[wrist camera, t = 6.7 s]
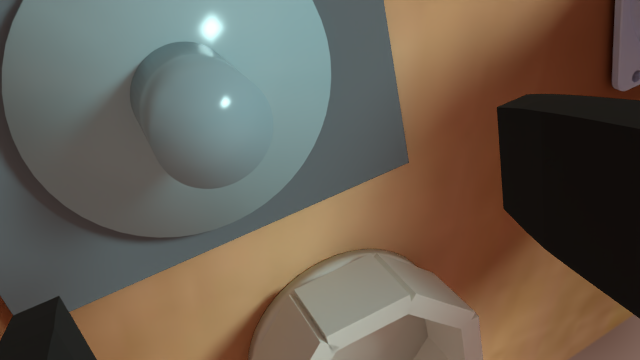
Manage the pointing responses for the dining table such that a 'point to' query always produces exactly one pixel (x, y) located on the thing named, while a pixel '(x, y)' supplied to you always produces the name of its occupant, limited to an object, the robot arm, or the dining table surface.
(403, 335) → the bowl
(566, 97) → the robot arm
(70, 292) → the mat
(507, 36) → the dining table surface
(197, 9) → the lid
